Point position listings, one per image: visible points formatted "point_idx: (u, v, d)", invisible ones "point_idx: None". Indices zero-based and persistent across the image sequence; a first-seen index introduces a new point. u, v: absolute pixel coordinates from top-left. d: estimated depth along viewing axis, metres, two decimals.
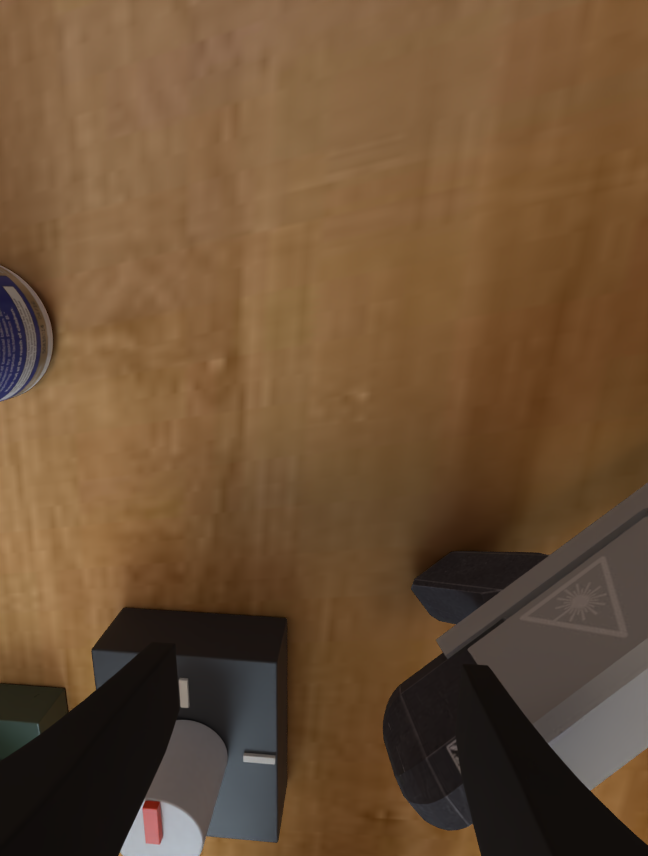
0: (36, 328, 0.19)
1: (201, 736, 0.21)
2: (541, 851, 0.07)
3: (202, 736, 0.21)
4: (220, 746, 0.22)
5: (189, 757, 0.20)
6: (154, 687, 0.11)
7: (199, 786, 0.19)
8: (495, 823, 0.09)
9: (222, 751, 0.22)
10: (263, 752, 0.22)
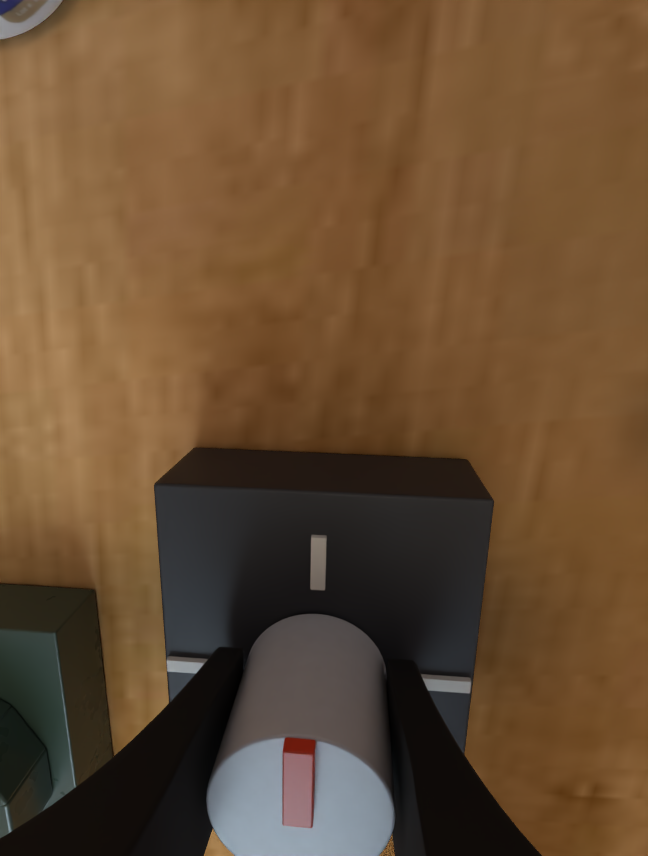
0: None
1: (351, 638, 0.12)
2: (419, 839, 0.07)
3: (353, 639, 0.12)
4: (379, 658, 0.12)
5: (343, 669, 0.11)
6: (229, 693, 0.11)
7: (373, 718, 0.10)
8: (401, 814, 0.10)
9: (383, 669, 0.12)
10: (448, 672, 0.13)
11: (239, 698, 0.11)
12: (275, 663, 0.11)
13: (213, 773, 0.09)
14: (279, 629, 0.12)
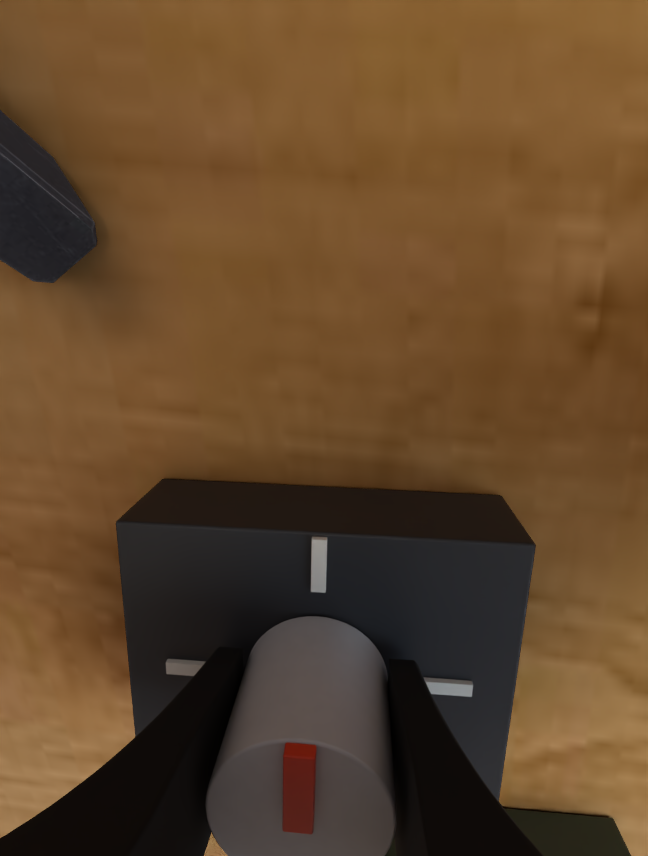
0: None
1: (352, 641, 0.12)
2: (421, 840, 0.07)
3: (354, 642, 0.12)
4: (381, 662, 0.12)
5: (344, 672, 0.11)
6: (229, 693, 0.11)
7: (374, 722, 0.10)
8: (402, 815, 0.10)
9: (385, 672, 0.12)
10: (308, 556, 0.12)
11: (239, 701, 0.11)
12: (275, 666, 0.11)
13: (212, 778, 0.09)
14: (279, 632, 0.12)
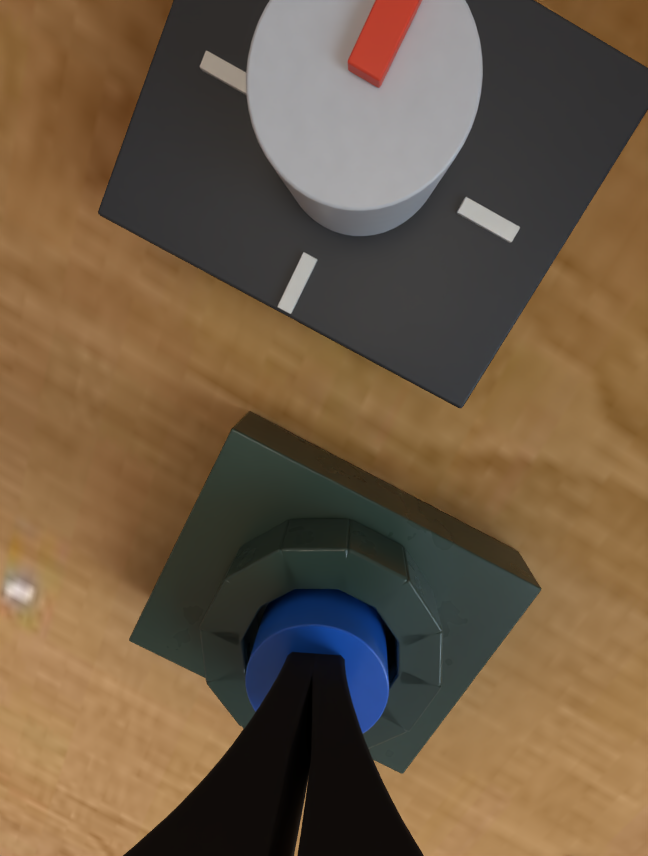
0: None
1: None
2: None
3: None
4: None
5: None
6: (309, 699, 0.11)
7: None
8: None
9: None
10: None
11: None
12: None
13: None
14: None
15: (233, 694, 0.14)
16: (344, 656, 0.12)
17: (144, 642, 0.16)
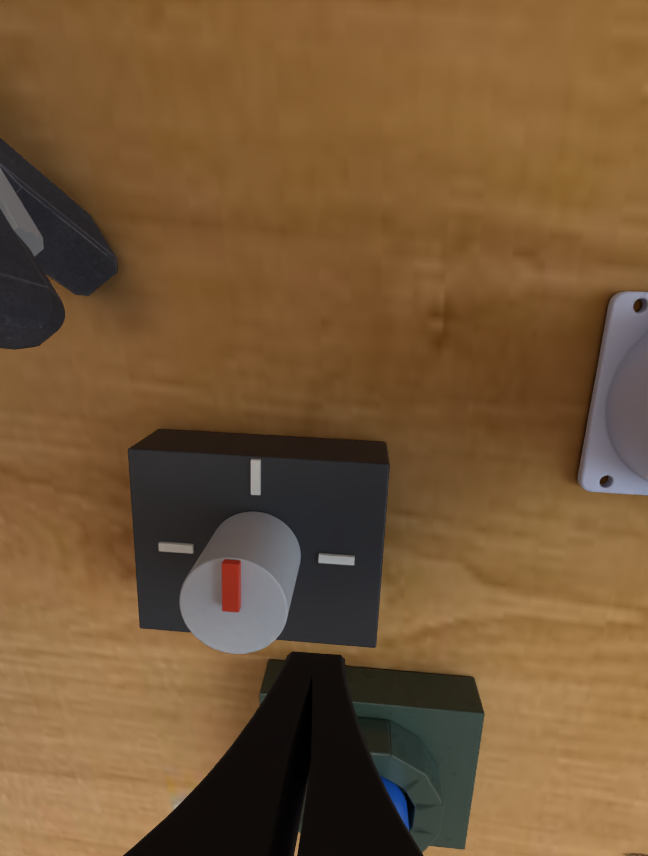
0: None
1: (275, 524, 0.19)
2: None
3: (276, 525, 0.19)
4: (294, 540, 0.19)
5: (265, 536, 0.18)
6: (309, 699, 0.11)
7: (280, 560, 0.17)
8: None
9: (297, 546, 0.19)
10: (249, 472, 0.19)
11: (202, 552, 0.18)
12: (224, 533, 0.18)
13: (183, 583, 0.16)
14: (230, 519, 0.19)
15: None
16: None
17: None
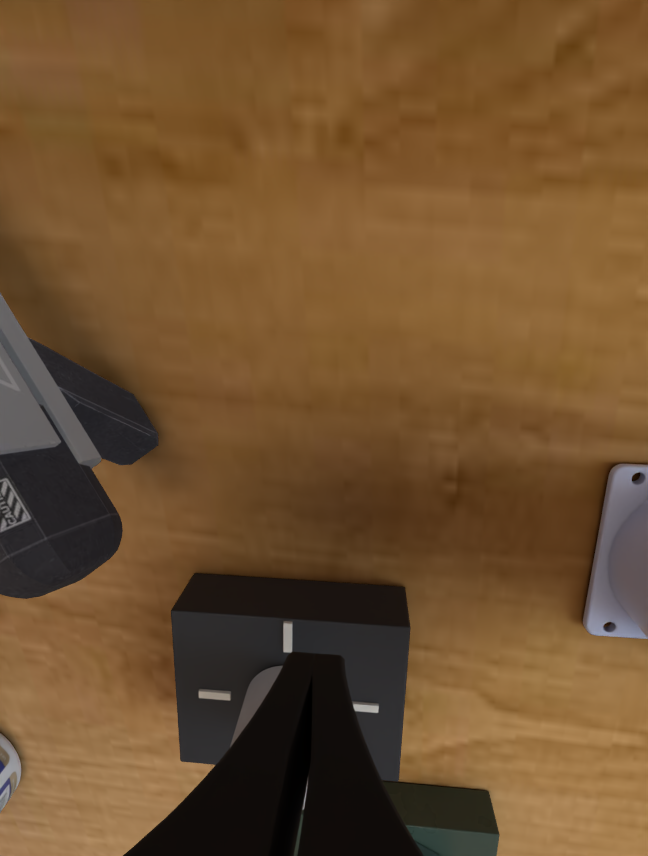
0: None
1: None
2: None
3: None
4: None
5: None
6: (309, 699, 0.11)
7: None
8: None
9: None
10: (281, 632, 0.21)
11: (242, 716, 0.19)
12: (262, 696, 0.20)
13: None
14: (265, 675, 0.21)
15: None
16: None
17: None
